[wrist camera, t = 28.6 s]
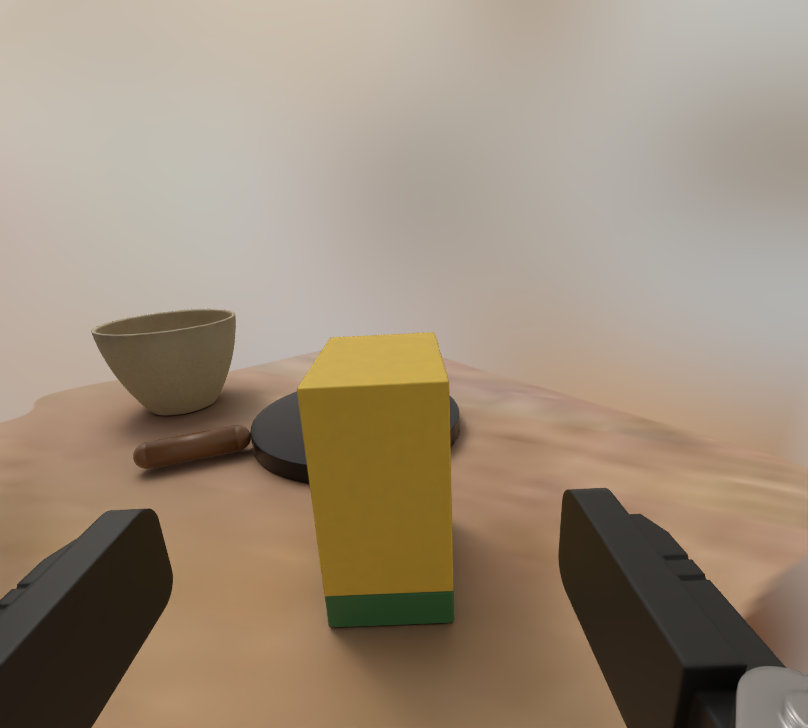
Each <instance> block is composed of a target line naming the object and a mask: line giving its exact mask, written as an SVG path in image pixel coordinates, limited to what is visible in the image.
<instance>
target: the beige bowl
mask: <svg viewBox="0 0 808 728" xmlns="http://www.w3.org/2000/svg"><path fill="white" fill-rule="evenodd" d="M235 324H236V320H235V313H234V312H232V311H228V310H220V309H194V310H180V311H171V312H163V313H155V314H148V315H142V316H136V317H131V318H126V319H121V320H117V321H112V322H109V323H105V324H102V325H100V326H97V327H95V328H94V329H92V331H91V332H92V335H93V337H94V340H95V342H96V344H97V346H98V348H99V350H100V352H101V354H102V356H103V357H104V359H105V361H106V362H107V364H108V366H109V367H110V369H111V370H112V372H113V373H114V374H115V376H116V377H117V378H118V380H119V381H120V382H121V383H122V384H123V386H124V387H125V388H126V389H127V390H128V391H129V392H130V393H131V394H132V395H133V396H134V397H135V398H136V399H137V400H138V401H139V402H140V403H141V404H142V405H144V406H145V407H146V408H147V409H148V410H150V411H151V412H152V413H154V414H158V415H179V414H185V413H190V412H194V411H197V410H200V409H203V408H205V407H208V406H209V405H211V404H213V403H214V402H215V401H216V400H217V398H218V396H219V394H220V392H221V390H222V388H223V385H224V383H225V380H226V377H227V374H228V371H229V368H230V364H231V360H232V355H233V350H234V341H235V328H236V325H235Z"/></svg>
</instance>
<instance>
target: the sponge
mask: <svg viewBox="0 0 808 728" xmlns="http://www.w3.org/2000/svg"><path fill="white" fill-rule="evenodd" d="M297 394H298V401H299V409H300V416H301V424H302V431H303V438H304V446H305V453H306V461H307V468H308V476H309V483H310V491H311V498H312V505H313V513H314V520H315V528H316V535H317V543H318V550H319V557H320V565H321V572H322V580H323V587H324V594H325V601H326V608H327V616H328V623H329V627H331V628H333V627H358V626H383V625H407V624H432V623H452V622H453V621H454V593H453V543H452V497H451V450H450V403H449V380H448V377H447V374H446V370H445V367H444V363H443V360H442V356H441V353H440V350H439V346H438V342H437V339H436V336H435V333H415V334H414V333H412V334H393V335H372V336H353V337H333V338H330V339H329V340H328V342H327V343H326V345H325V346H324V348H323V350H322V351H321V353H320V354H319V356H318V357H317V359H316V360H315V362H314V363H313V365H312V367H311V368H310V370H309V371H308V373H307V374H306V376H305V377H304V379H303V380H302V382H301V383H300V385H299V387H298V388H297Z"/></svg>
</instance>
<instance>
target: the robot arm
mask: <svg viewBox="0 0 808 728" xmlns="http://www.w3.org/2000/svg"><path fill="white" fill-rule="evenodd" d="M559 568H560V574H561V578H562V582H563V585H564V588H565V591H566V593H567V595H568V598H569V600H570V602H571V604H572V606H573V609H574V611H575V613H576V615H577V618H578V620H579V622H580V624H581V626H582V629H583V631H584V633H585V635H586V638H587V640H588V642H589V644H590V646H591V649H592V651H593V653H594V655H595V658H596V660H597V662H598V664H599V666H600V669H601V671H602V673H603V675H604V678H605V680H606V682H607V684H608V686H609V689H610V691H611V693H612V695H613V697H614V700H615V702H616V704H617V706H618V709H619V711H620V713H621V715H622V717H623V720H624V722H625V724H626V726H627V728H808V675H807V674H804V673H801V672H798V671H795V670H792V669H788V668H786V667H785V666H784V665H783V664H782V663H781V661H780V660H779V659H778V658H777V657H776V656H775V655H774V654H773V652H772V651H771V650H770V649H769V648H768V646H767V645H766V644H765V643H764V642H763V641H762V639H761V638H759V636H758V635H757V634H756V633H755V631H754V630H753V629H752V628H751V627H750V626H749V625H748V623H747V622H746V621H745V620H744V619H743V618H742V617H741V615H740V614H739V613H738V612H737V611H736V610H735V608H734V607H733V606H732V605H731V604H730V603H729V602H728V600H727V599H726V598H725V597H724V596H723V595H722V594H721V592H720V591H719V590H718V589H717V588H716V587H715V586H714V584H713V583H712V582H711V581H710V580H706V578H705V574H704V573H703V572H702V571H701V569H700V568H699V567H698V566H697V565H696V564H695V563H694V561H693V560H689V559H688V555H687V553H686V552H685V551H684V550H683V549H682V548H681V546H680V545H679V544H678V543H677V542H676V541H675V540H674V538H673V537H672V536H671V535H670V534H669V533H668V532H667V531H666V530H664V529H663V528H661V527H660V526H658V525H656V524H655V523H653V522H652V521H650V520H649V519H647V518H646V517H644V516H643V515H641V514H628V512H627V511H626V510H625V509H624V507H623V506H622V505H621V504H620V502H619V501H618V500H617V499H616V497H615V496H614V495H613V493H612V492H611V491H610V490H609V489H607V488H593V489H572V490H566V491H565V492H564V494H563V499H562V512H561V526H560V541H559ZM172 584H173V573H172V568H171V565H170V561H169V557H168V553H167V549H166V546H165V542H164V538H163V534H162V530H161V526H160V523H159V519H158V516H157V514H156V513H155V512H154V511H153V510H152V509H131V510H110V511H107V512H105V513H104V514H102V515H101V516H100V517H99V518H98V519H97V520H96V521H95V522H94V523H93V524H92V525H91V526H90V527H89V528H88V529H87V530H86V531H85V532H84V533H83V534H82V535H81V536H80V537H78V538H77V539H75V540H74V541H72V542H71V543H69V544H68V545H66V546H64V547H63V548H61V549H60V550H58V551H57V552H55V553H53V554H52V555H50V556H49V557H47V558H46V559H44V560H43V561H42V562H40V563H39V564H38V565H37V566H36V567H35V568H34V569H33V570H32V571H31V572H30V573H29V574H28V575H27V576H26V577H24V578H23V579H22V580H21V581H20V582H19V583H18V584H17V588H16V589H12V590H11V591H9V592H8V593H7V594H6V595H5V596H4V597H3V598H2V599H1V600H0V728H92V726H93V724H94V723H95V721H96V720H97V718H98V716H99V715H100V713H101V711H102V710H103V708H104V707H105V705H106V703H107V702H108V700H109V698H110V697H111V695H112V694H113V692H114V690H115V689H116V687H117V685H118V684H119V682H120V681H121V679H122V677H123V676H124V674H125V672H126V671H127V669H128V668H129V666H130V664H131V663H132V661H133V659H134V658H135V656H136V655H137V653H138V651H139V650H140V648H141V647H142V645H143V643H144V642H145V640H146V638H147V637H148V635H149V634H150V632H151V630H152V629H153V627H154V625H155V624H156V622H157V621H158V619H159V617H160V616H161V614H162V612H163V611H164V609H165V607H166V605H167V603H168V601H169V598H170V595H171V591H172Z"/></svg>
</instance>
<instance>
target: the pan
mask: <svg viewBox="0 0 808 728" xmlns="http://www.w3.org/2000/svg"><path fill="white" fill-rule="evenodd" d="M449 403H450V448H451V447H452V446H453V444H454V443H455V441H456V439H457V438H458V434H459V408H458V406H457V404H456V402H455V401H454V399H453V398H451V397H450V396H449ZM250 434H251V435H250ZM250 440H252V446H253V451H254V455H255V457H256V458H257V460H258V461H259V462H260V463H261V464H262V465H263V466H264V467H265V468H266V469H268V470H269V471H271V472H273V473H275V474H277V475H279V476H282V477H284V478H288V479H291V480H294V481H300V482H305V483H309V476H308V468H307V461H306V453H305V446H304V438H303V431H302V424H301V416H300V409H299V401H298V394H297V392H295V393H292V394H290V395H287V396H285V397H283V398H281V399H279V400H277V401H275V402H274V403H272V404H270V405H269V406H268V407H266V408H265V409H264V410H262V411H261V412H260V413H259V414H258V415H257V417H256V418H255V420H254V421H253V423H252V426H251V432H249V430H248V429H247V428H246V427H244V426H241V425H236V426H230V427H225V428H219V429H214V430H208V431H203V432H198V433H192V434H187V435H181V436H176V437H170V438H165V439H160V440H154V441H149V442H145V443H142V444H140V445H139V446H138V447H137V448H136V449H135V451H134V454H133V459H134V462H135V463H136V465H137V466H139V467H141V468H144V469H151V468H156V467H161V466H166V465H171V464H175V463H180V462H185V461H190V460H195V459H200V458H205V457H210V456H215V455H220V454H225V453H230V452H235V451H240V450H243V449H245V448H246V447H247V446H248V445H249V443H250Z"/></svg>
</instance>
